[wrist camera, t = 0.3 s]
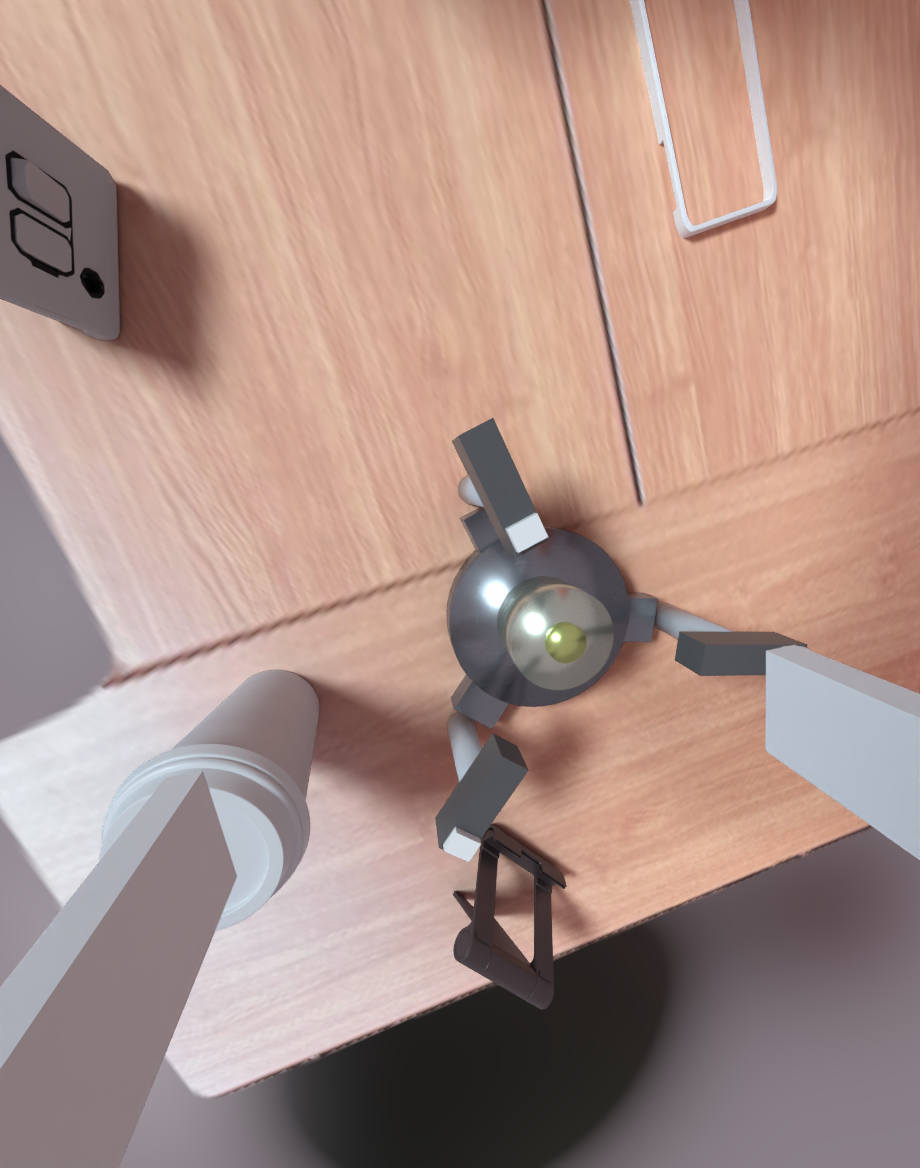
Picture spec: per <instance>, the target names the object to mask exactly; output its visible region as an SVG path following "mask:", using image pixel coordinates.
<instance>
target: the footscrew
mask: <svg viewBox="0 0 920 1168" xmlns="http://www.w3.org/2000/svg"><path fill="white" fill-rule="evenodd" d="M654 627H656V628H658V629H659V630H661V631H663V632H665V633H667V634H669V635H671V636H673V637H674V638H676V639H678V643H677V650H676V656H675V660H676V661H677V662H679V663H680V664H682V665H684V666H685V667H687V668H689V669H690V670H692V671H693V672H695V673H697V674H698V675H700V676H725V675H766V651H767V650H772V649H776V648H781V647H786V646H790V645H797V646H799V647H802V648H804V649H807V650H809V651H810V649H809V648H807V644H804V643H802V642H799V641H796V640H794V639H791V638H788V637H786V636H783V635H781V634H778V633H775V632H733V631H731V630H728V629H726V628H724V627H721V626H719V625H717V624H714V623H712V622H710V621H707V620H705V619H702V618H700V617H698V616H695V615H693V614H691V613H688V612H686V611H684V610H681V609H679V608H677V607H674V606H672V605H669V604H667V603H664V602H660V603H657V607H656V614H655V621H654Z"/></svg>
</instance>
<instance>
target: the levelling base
mask: <svg viewBox="0 0 920 1168" xmlns="http://www.w3.org/2000/svg"><path fill="white" fill-rule="evenodd" d="M460 520H461V522H462V524H463V526H464V528H465V530H466V532H467V533H468V535H469V537H470V539H471V541H472V543H473V545H474V547H475V549H476V550H475V551H474V552H473V553H472V554H471V555H470V556H469V557H468V558H467V560H466V561H465V563H464V564H463V565H462V567H461V568H460V570H459V572H458V573H457V575H456V577H455V579H454V582H453V584H452V587H451V589H450V593H449V597H448V603H447V627H448V633H449V637H450V640H451V643H452V646H453V649H454V652H455V654H456V657H457V659H458V661H459V663H460V665H461V667H462V668H463V670H464V671H465V673H466V676H465V677H464V679H463V680H462V682H461V683H460V685H459V686H458V688H457V689H456V691H455V692H454V694H453V695H452V697H451V699H452V703H453V707H454V709H455V710H457V711H458V712H460V713H462V714H464V715H466V716H468V717H470V718H472V719H473V720H475V721H477V722H479V723H481V724H483V725H485V726H487V727H489V728H490V729H492V728H493V727H494V725H495V724H496V722H497V721H498V719H499V718H500V716H501V715H502V713H503V712H504V710H505V709H506V707H507V706H508V704H513V705H519V706H529V707H537V706H547V705H552V704H557V703H560V702H563V701H566V700H568V699H570V698H572V697H575V696H577V695H579V694H580V693H582V692H583V691H585V690H587V689H588V688H589V687H591V686H592V685H593V684H594V683H596V682H597V681H598V680H599V679H600V678H601V677H602V676H603V675H604V674H605V673H606V671H607V670H608V669H609V667H610V666H611V665H612V663H613V662H614V660H615V659H616V657H617V655H618V653H619V651H620V649H621V647H622V645H623V642H652V635H653V628H654V621H655V614H656V607H657V600H658V598H655V597H653V596H651V595H648V594H646V593H628V592H627V589H626V586H625V583H624V580H623V577H622V575H621V573H620V571H619V569H618V567H617V566H616V565H615V563H614V562H613V560H612V559H611V558H610V557H609V556H608V554H607V553H606V552H605V551H604V550H603V549H601V548H600V547H599V546H598V545H596V544H595V543H594V542H592V541H590V540H589V539H587V538H585V537H583V536H581V535H578V534H576V533H573V532H569V531H565V530H561V529H557V528H553V527H547V526H543V527H544V529H545V531H546V533H547V535H548V539H549V540H548V541H546V542H544V543H543V544H541V545H539V546H537V547H535V548H533V549H531V550H530V551H528V552H526V553H524V554H522V555H520V556H518V557H515V556H513V555H512V554H510V553H508V552H506V551H505V549H504V547H503V545H502V543H501V541H500V539H499V537H498V535H497V533H496V531H495V529H494V527H493V525H492V523H491V521H490V518H489V516H488V514H487V512H486V510H485V508H484V507H480V508H478V509H476V510H474V511H472V512H470V513H469V514H467V515H465V516H463V517H461V518H460Z"/></svg>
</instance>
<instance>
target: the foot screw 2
mask: <svg viewBox="0 0 920 1168" xmlns="http://www.w3.org/2000/svg"><path fill="white" fill-rule="evenodd" d="M447 729H448V734H449V738H450V743H451V747H452V752H453V756H454V761H455V766H456V770H457V775H458V779H459V784H458V785H457V787H456V788H455V789H454V791H453V792H452V794H451V795H450V797H449V798H448V800H447V801H446V803H445V804H444V806H443V807H442V809H441V810H440V812H439V813H438V815H437V816H436V818H435V819H436V827H437V835H438V843H439V848H440V849H443V850H444V851H445V852H447V853H449V854H452V855H454V856H456V857H458V858H461V859H463V860H465V861H468V862H469V861H470V860H471V858H472V857H473V855H474V854H475V852H476V851H477V850H478V848H479V847H480V845H481V841H480V839H481V838H482V836H483V835H484V834H485V832H486V831H487V829H488V828H489V826H490V825H491V824H492V822H493V821H494V819H495V818H496V816H497V815H498V813H499V812H500V811H501V809H502V808H503V806H504V805H505V803H506V802H507V800H508V799H509V798H510V796H511V795H512V793H513V792H514V790H515V789H516V788H517V786H518V785H519V783H520V782H521V780H522V779H523V777H524V776H525V775H526V773H527V772H528V768H527V766H526V764H525V761H524V759H523V757H522V755H521V753H520V751H519V749H518V747H517V746H516V745H514V744H512V743H510V742H508V741H506V740H504V739H503V738H501V737H499V736H497V735H495V734H493V733H492V735H491V736H490V738H489V739H488V741H487V742H486V744H485V745H484V747H483V748H482V746H481V743H480V740H479V737H478V734H477V731H476V728H475V725H474V722H473V719H472V718H470V717H468V716H466V715H464V714H462V713H460V712H457V713H454V714H453V715H451V716H450V718H449V719H448V721H447Z"/></svg>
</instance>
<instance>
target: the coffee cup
mask: <svg viewBox="0 0 920 1168" xmlns="http://www.w3.org/2000/svg"><path fill="white" fill-rule="evenodd" d="M319 710H320V707H319V700H318V697H317V694H316V692H315V691H314V689H313V688H312V686H311V685H310V684H309V683H308V682H307V681H306V680H305V679H303V678H302V677H300V676H298V675H296V674H294V673H291V672H288V671H283V670H268V671H263V672H260V673H257V674H255V675H253V676H251V677H250V678H248V679H247V680H246V681H245V682H243V683H242V684H241V685H240V686H239V687H238V688H237V689H236V690H235V691H234V692H233V693H232V694H231V695H230V696H228V697H227V698H226V699H225V700H224V701H223V702H222V703H221V704H220V705H219V706H218V707H217V708H216V709H215V710H213V711H212V712H211V713H210V714H209V715H208V716H207V717H206V718H205V719H204V720H203V721H202V722H201V723H200V724H198V725H197V726H196V727H195V728H194V729H193V730H192V731H191V732H190V733H189V734H188V735H187V736H185V737H184V738H183V739H182V740H181V741H180V742H179V743H178V744H177V745H176V746H175V747H174V748H172V749H171V750H170V751H167V752H164V753H162V754H160V755H157V756H155V757H153V758H152V759H150V760H148V761H147V762H145V763H143V764H142V765H141V766H139V767H138V768H137V769H136V770H134V771H133V772H132V773H131V774H130V775H129V776H128V777H127V778H126V779H125V781H124V782H123V783H122V784H121V786H120V787H119V789H118V790H117V792H116V794H115V796H114V798H113V800H112V802H111V804H110V807H109V809H108V811H107V814H106V818H105V821H104V826H103V831H102V845H101V849H100V856H99V861H100V860H101V859H102V858H103V856H104V855H105V854H106V853H107V851H108V850H109V849H110V848H111V846H112V845H113V844H114V843H115V841H116V840H117V839H118V837H119V836H120V835H121V834H122V832H123V831H124V830H125V829H126V827H127V826H128V825H129V824H130V822H131V821H132V820H133V818H134V817H135V816H136V815H137V813H138V812H139V811H140V810H141V808H142V807H143V806H144V805H145V803H146V802H147V801H148V799H149V798H150V797H151V796H152V794H153V793H154V792H155V791H156V789H157V788H158V787H159V786H160V784H161V783H162V782H163V781H164V779H165V778H169V777H174V776H179V775H183V774H188V773H193V772H197V771H202V770H203V772H204V775H205V778H206V781H207V784H208V787H209V790H210V794H211V797H212V800H213V803H214V806H215V809H216V812H217V815H218V818H219V821H220V825H221V828H222V831H223V834H224V837H225V840H226V843H227V846H228V849H229V852H230V856H231V859H232V862H233V865H234V868H235V871H236V874H237V878H236V881H235V883H234V886H233V888H232V891H231V893H230V895H229V898H228V900H227V903H226V905H225V908H224V910H223V913H222V915H221V918H220V920H219V923H218V925H217V928H216V930H220V929H224V928H227V927H229V926H232V925H234V924H237V923H239V922H241V921H243V920H244V919H246V918H248V917H249V916H251V915H252V914H254V913H255V912H256V911H257V910H259V909H260V908H261V907H262V906H263V905H264V904H265V903H266V902H267V901H268V900H269V898H271V897H272V896H273V895H274V894H275V893H276V892H277V891H278V890H279V889H280V888H281V887H282V886H283V885H284V884H285V883H286V882H287V880H288V879H289V878H290V877H291V875H292V874H293V873H294V871H295V869H296V868H297V866H298V864H299V863H300V861H301V859H302V857H303V855H304V853H305V851H306V848H307V845H308V841H309V836H310V816H309V810H308V807H307V803H306V795H307V789H308V782H309V776H310V769H311V763H312V756H313V750H314V744H315V737H316V731H317V725H318V718H319ZM216 930H215V931H216Z"/></svg>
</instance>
